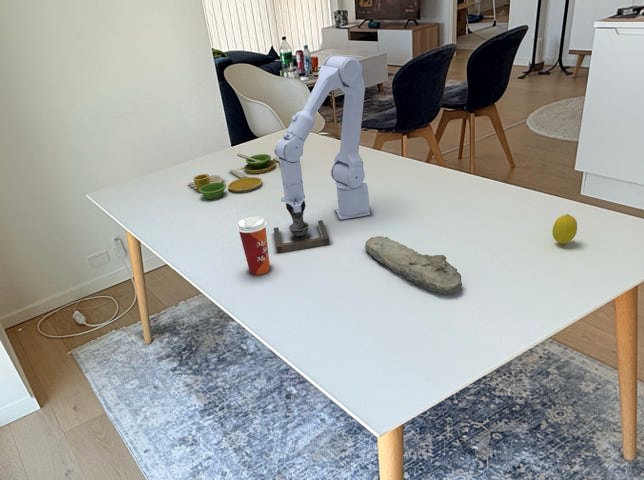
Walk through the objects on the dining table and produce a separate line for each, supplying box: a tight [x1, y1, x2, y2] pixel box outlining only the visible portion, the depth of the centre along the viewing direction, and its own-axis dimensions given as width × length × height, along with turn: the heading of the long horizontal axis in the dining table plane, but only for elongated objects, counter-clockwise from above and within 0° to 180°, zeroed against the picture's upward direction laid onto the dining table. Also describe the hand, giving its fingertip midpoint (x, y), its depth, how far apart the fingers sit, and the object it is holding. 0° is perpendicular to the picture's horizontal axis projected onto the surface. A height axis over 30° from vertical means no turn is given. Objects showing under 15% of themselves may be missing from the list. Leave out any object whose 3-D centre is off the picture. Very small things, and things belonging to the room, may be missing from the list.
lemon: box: [551, 213, 578, 246], centre depth 141 cm, size 6×6×8 cm
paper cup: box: [236, 216, 271, 276], centre depth 150 cm, size 8×8×14 cm
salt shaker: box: [288, 199, 310, 242], centre depth 164 cm, size 6×6×12 cm
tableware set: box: [188, 152, 280, 200], centre depth 214 cm, size 41×28×6 cm
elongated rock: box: [364, 235, 463, 295], centre depth 142 cm, size 35×5×10 cm
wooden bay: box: [273, 219, 330, 254], centre depth 166 cm, size 15×14×2 cm
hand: (298, 226), depth 170 cm, fingers closed
